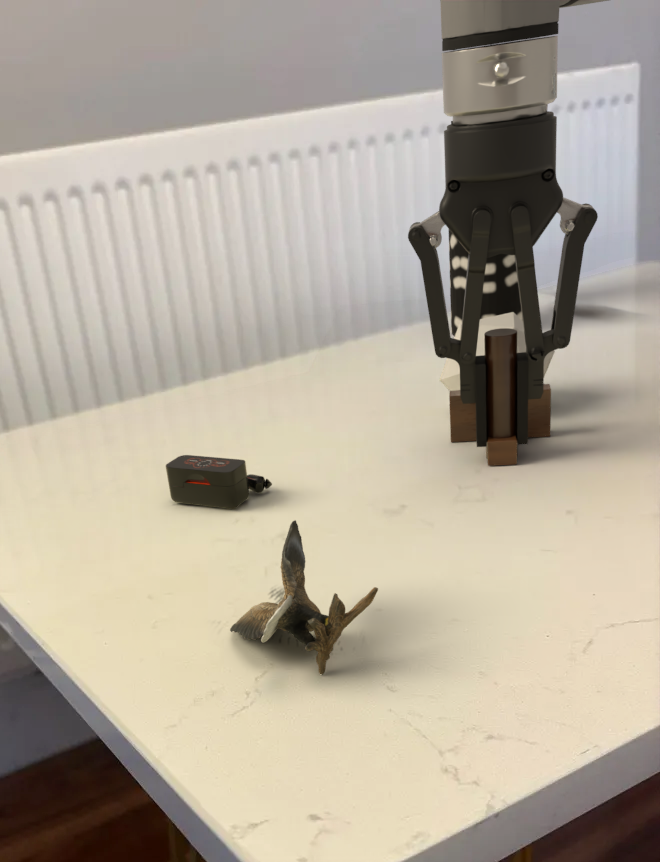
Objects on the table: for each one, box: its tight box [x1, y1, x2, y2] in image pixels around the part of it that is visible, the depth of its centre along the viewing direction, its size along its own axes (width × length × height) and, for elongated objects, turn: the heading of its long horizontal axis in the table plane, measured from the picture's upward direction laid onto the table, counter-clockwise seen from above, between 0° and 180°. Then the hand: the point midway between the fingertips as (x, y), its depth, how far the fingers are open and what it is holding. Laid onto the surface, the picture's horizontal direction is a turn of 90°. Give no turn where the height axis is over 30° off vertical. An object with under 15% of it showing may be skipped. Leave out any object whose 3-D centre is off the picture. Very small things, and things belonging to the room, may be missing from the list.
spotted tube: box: [447, 227, 523, 336], centre depth 112 cm, size 8×8×20 cm
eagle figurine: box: [229, 519, 379, 675], centre depth 59 cm, size 8×7×9 cm
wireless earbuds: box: [165, 454, 273, 510], centre depth 82 cm, size 5×7×3 cm, turn 57°
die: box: [439, 312, 556, 392], centre depth 91 cm, size 8×9×10 cm
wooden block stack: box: [448, 328, 552, 467], centre depth 81 cm, size 8×8×10 cm
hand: (501, 439), depth 81 cm, fingers closed on wooden block stack, 2 cm apart
